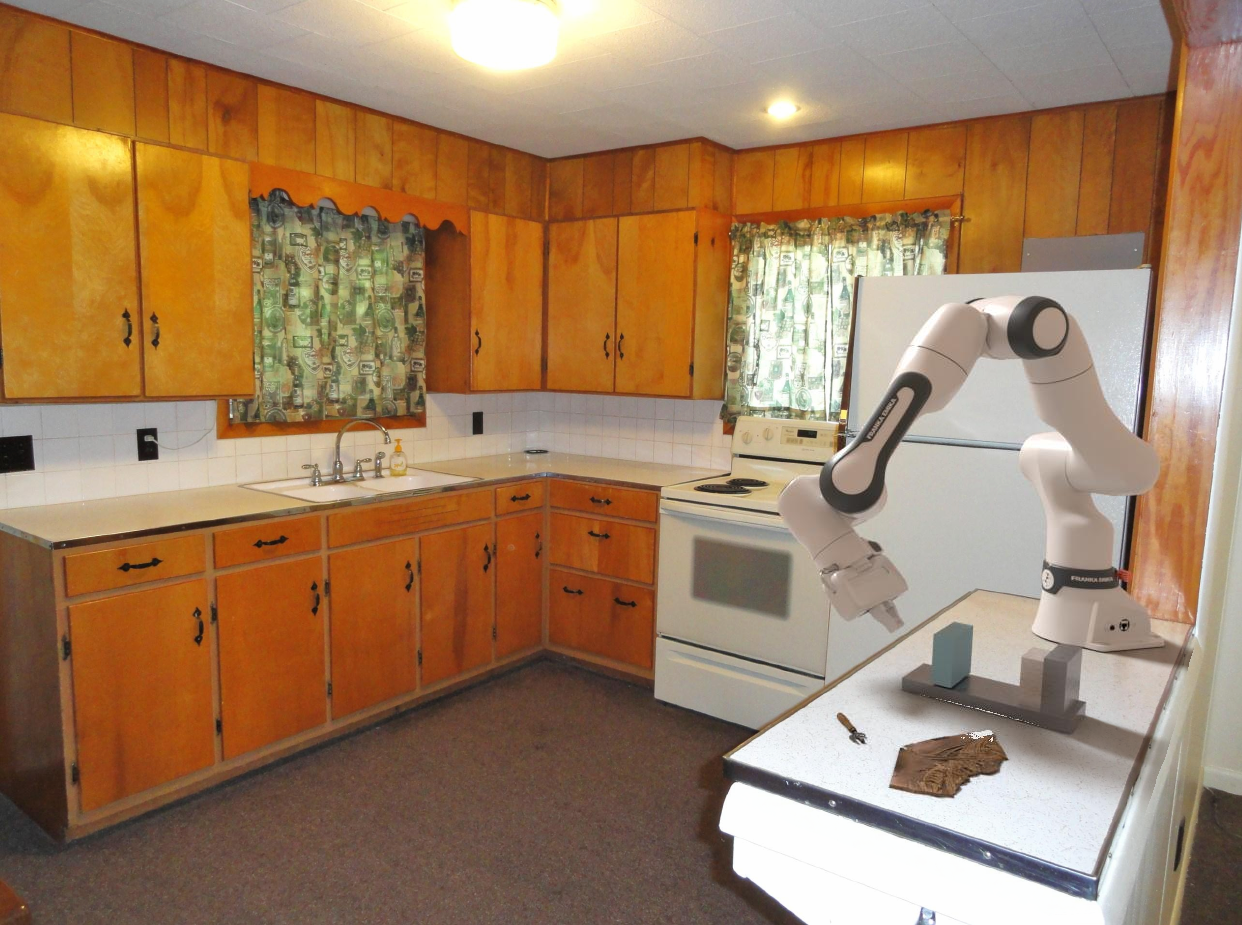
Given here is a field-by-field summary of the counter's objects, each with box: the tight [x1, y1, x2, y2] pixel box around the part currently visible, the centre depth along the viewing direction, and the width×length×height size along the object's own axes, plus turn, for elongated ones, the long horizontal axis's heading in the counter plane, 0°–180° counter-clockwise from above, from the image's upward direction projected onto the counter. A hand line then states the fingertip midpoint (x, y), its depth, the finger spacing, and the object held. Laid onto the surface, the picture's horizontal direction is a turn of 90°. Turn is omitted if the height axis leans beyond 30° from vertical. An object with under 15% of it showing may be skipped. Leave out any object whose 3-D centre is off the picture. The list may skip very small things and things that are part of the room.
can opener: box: [836, 712, 866, 746], centre depth 116 cm, size 9×2×1 cm, turn 0°
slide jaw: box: [931, 621, 974, 688], centre depth 130 cm, size 3×9×8 cm, turn 139°
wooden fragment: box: [888, 732, 1009, 798], centre depth 108 cm, size 26×11×1 cm, turn 129°
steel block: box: [1018, 646, 1052, 709], centre depth 122 cm, size 3×6×7 cm, turn 139°
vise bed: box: [901, 643, 1087, 735], centre depth 126 cm, size 24×9×10 cm, turn 49°
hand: (898, 629), depth 136 cm, fingers closed
